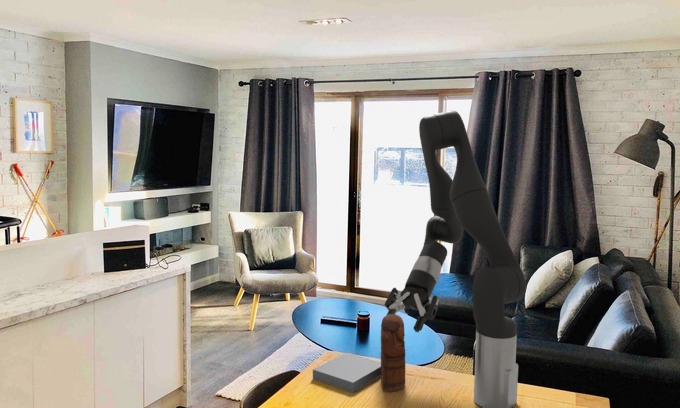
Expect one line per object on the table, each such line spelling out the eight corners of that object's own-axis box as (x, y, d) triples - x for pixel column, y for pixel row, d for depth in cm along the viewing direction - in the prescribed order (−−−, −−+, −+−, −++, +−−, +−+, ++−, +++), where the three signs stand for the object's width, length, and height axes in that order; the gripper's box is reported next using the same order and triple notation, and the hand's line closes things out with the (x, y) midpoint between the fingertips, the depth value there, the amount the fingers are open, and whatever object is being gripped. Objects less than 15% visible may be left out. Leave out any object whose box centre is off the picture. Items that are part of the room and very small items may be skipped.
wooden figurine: (406, 393, 136) (407, 322, 134) (380, 392, 137) (381, 322, 135) (403, 373, 148) (404, 308, 146) (379, 373, 148) (380, 307, 147)
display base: (385, 372, 149) (385, 363, 148) (353, 392, 137) (353, 382, 137) (346, 360, 157) (346, 352, 156) (312, 378, 145) (312, 369, 144)
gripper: (397, 264, 155) (373, 314, 147) (443, 272, 146) (420, 325, 138) (406, 279, 159) (383, 328, 152) (451, 288, 151) (430, 340, 143)
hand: (401, 327), depth 145 cm, fingers open, 8 cm apart
